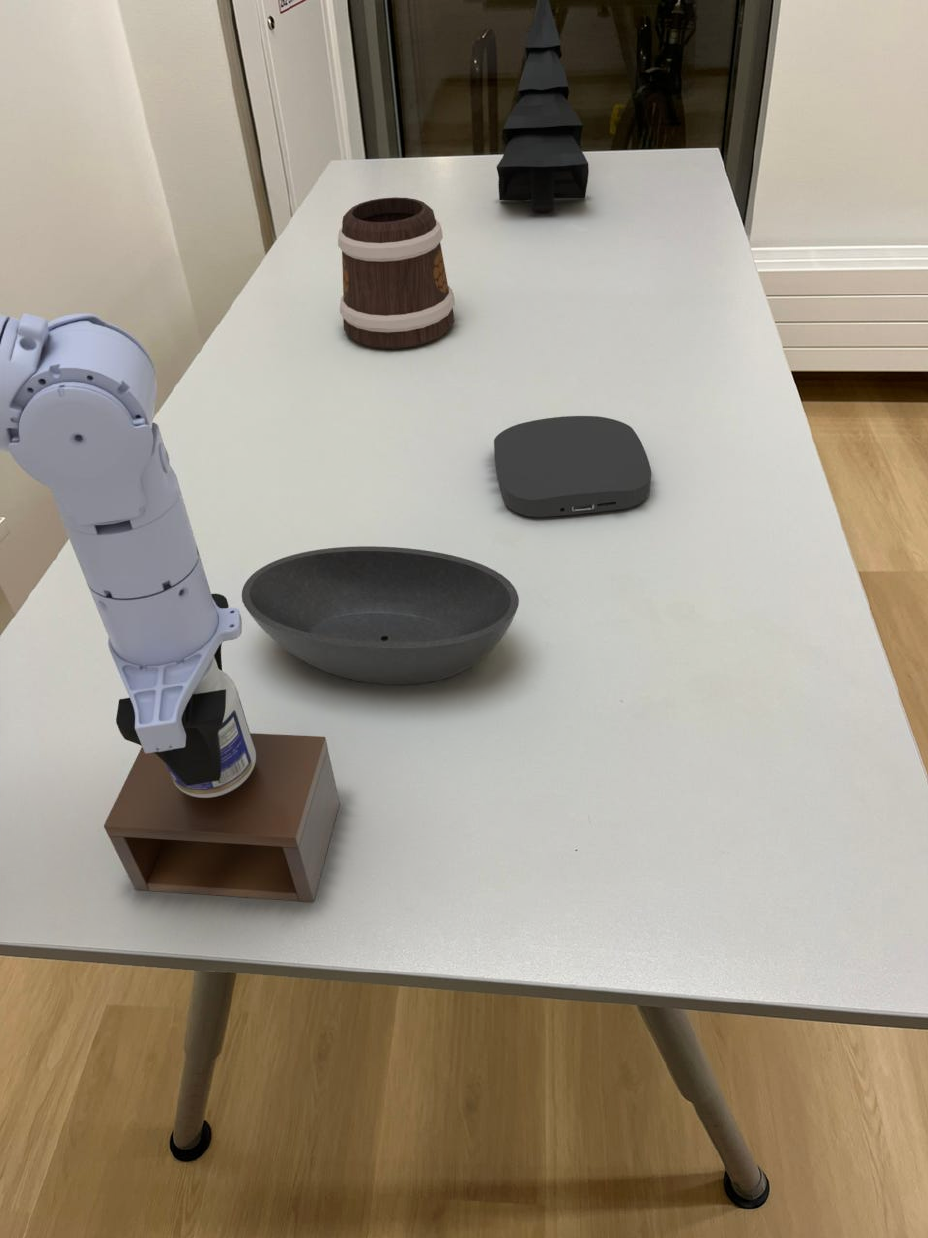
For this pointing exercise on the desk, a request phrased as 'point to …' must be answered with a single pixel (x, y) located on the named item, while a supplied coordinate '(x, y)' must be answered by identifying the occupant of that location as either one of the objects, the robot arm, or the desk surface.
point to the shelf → (231, 825)
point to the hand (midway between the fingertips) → (204, 742)
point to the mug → (394, 274)
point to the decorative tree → (542, 127)
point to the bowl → (382, 611)
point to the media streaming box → (571, 466)
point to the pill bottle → (225, 739)
